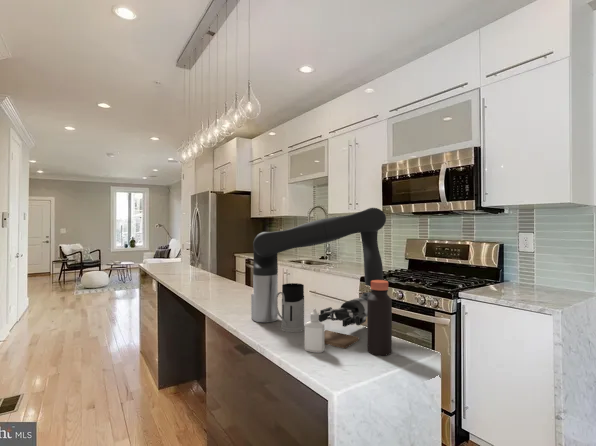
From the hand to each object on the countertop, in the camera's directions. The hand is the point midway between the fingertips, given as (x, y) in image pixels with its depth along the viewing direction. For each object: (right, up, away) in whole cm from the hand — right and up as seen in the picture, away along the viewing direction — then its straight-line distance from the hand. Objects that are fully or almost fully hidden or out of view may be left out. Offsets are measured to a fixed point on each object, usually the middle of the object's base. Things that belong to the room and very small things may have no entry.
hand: (331, 320), depth 105 cm
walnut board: (+1, -7, +2) cm, 7 cm away
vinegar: (+13, -7, -8) cm, 17 cm away
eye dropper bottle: (-5, -7, -7) cm, 11 cm away
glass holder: (-13, -7, +12) cm, 19 cm away
